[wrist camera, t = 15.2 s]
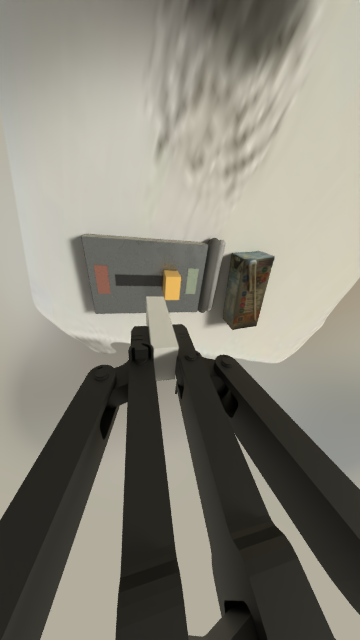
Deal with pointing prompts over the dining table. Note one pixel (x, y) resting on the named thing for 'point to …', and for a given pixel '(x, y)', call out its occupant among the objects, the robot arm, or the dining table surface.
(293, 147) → the dining table surface
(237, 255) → the beverage carton
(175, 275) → the toggle
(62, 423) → the robot arm
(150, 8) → the dining table surface
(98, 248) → the breaker panel
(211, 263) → the grey rounded bar
